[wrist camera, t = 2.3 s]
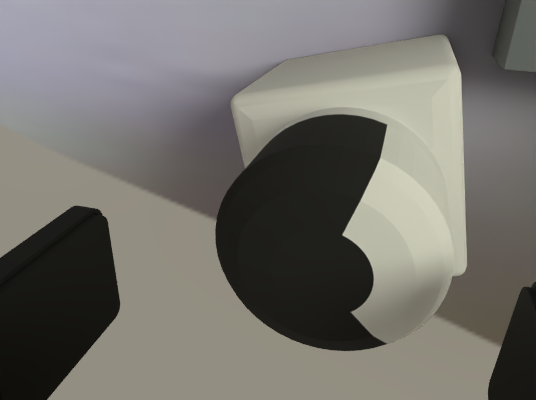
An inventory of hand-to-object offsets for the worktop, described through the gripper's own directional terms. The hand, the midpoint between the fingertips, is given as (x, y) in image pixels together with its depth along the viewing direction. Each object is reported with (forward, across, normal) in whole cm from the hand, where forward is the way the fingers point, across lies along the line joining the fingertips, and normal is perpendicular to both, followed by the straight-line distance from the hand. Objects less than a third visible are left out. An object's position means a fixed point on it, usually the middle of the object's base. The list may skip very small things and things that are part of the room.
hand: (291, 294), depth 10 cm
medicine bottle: (+13, -1, 0) cm, 13 cm away
